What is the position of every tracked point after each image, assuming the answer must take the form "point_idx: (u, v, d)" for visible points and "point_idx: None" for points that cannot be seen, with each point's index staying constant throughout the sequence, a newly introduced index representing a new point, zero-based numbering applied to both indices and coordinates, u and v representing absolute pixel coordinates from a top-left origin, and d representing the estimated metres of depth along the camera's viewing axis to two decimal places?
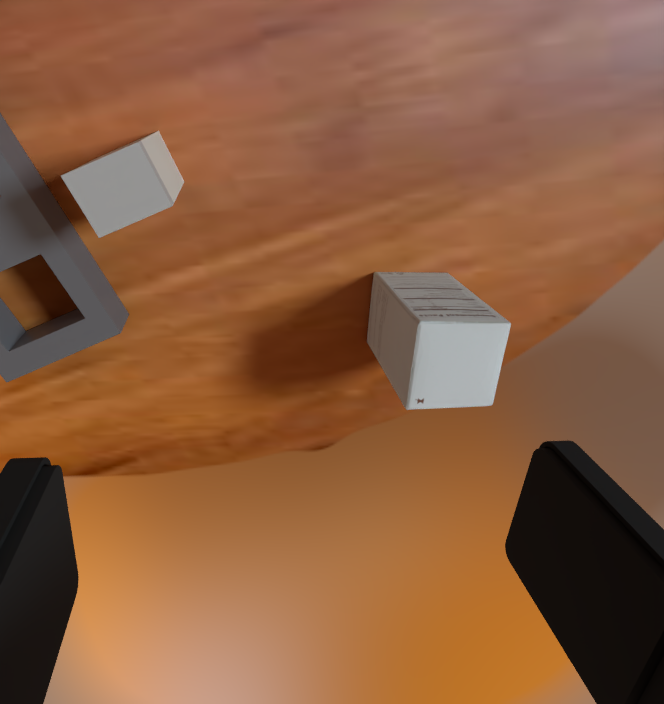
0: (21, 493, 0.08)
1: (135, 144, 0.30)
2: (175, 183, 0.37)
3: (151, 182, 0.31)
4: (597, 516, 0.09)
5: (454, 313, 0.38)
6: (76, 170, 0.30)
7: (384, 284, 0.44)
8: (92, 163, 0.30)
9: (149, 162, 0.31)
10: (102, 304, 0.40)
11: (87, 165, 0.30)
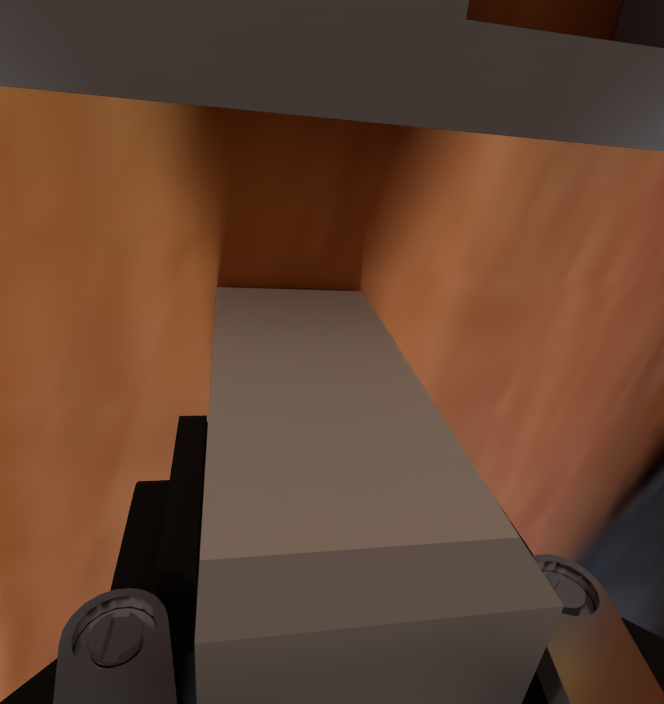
0: (200, 441, 0.09)
1: None
2: None
3: None
4: None
5: None
6: (534, 662, 0.06)
7: None
8: None
9: None
10: None
11: (520, 698, 0.07)
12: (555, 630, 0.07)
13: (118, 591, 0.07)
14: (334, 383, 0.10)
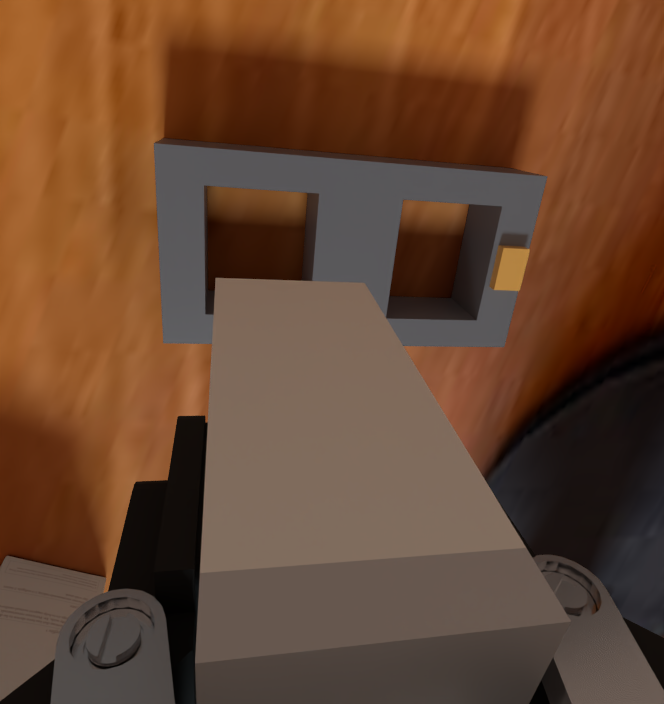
0: (198, 441, 0.09)
1: None
2: None
3: None
4: None
5: None
6: (539, 674, 0.06)
7: None
8: None
9: None
10: None
11: None
12: None
13: (116, 591, 0.07)
14: (336, 381, 0.10)
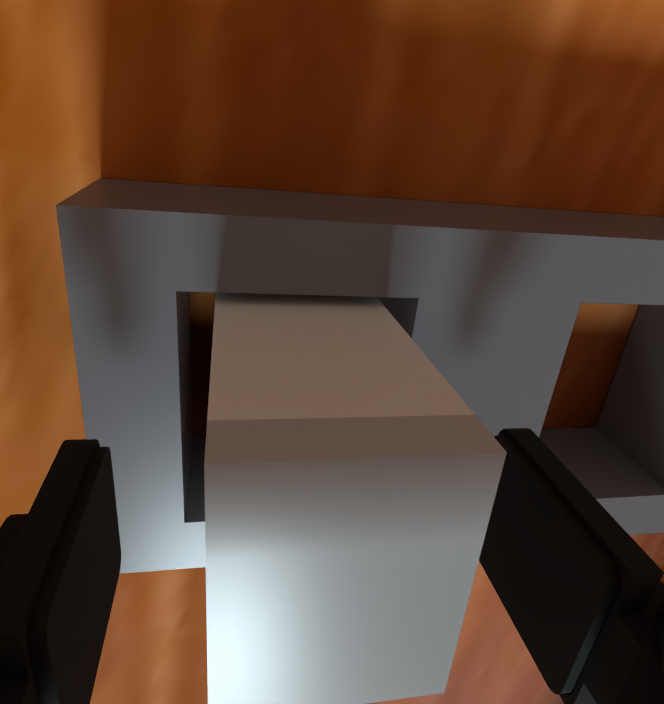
0: (78, 470, 0.08)
1: (442, 684, 0.09)
2: None
3: (316, 692, 0.08)
4: (545, 498, 0.09)
5: None
6: (487, 510, 0.07)
7: None
8: (473, 565, 0.08)
9: None
10: None
11: (478, 549, 0.08)
12: None
13: None
14: (322, 322, 0.11)
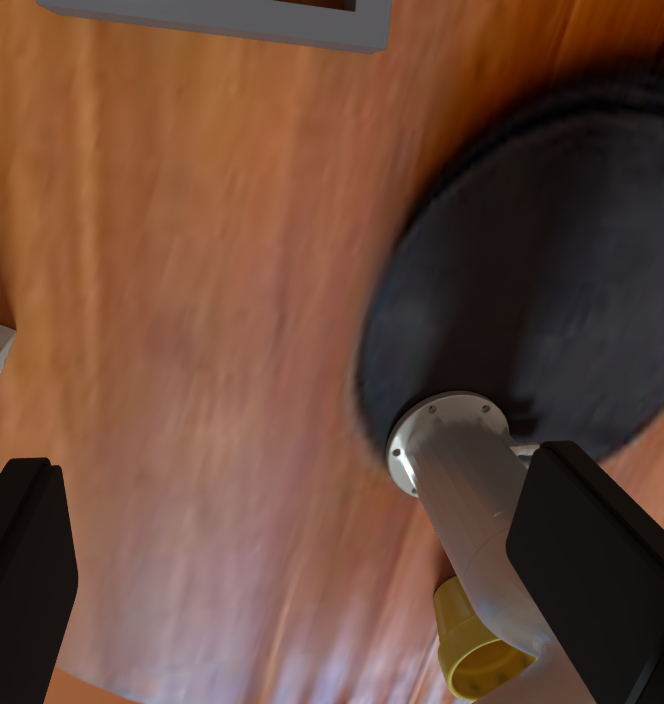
0: (21, 493, 0.08)
1: None
2: None
3: None
4: (597, 516, 0.09)
5: None
6: None
7: None
8: None
9: None
10: (88, 10, 0.29)
11: None
12: None
13: None
14: None
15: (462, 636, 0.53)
